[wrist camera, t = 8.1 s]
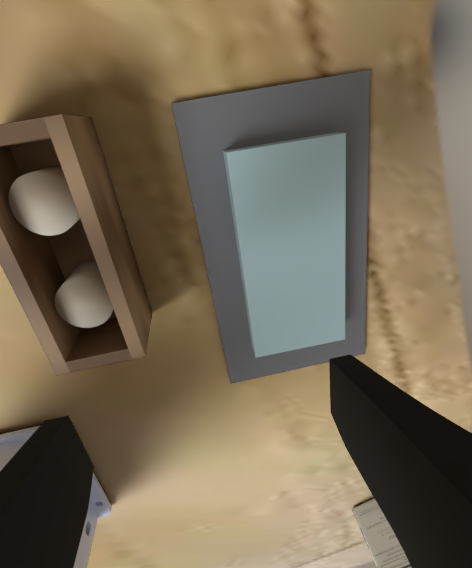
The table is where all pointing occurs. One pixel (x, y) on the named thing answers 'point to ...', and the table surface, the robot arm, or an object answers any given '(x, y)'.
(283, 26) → the table surface
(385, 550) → the syrup box
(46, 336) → the crate
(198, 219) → the mat
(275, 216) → the lid
